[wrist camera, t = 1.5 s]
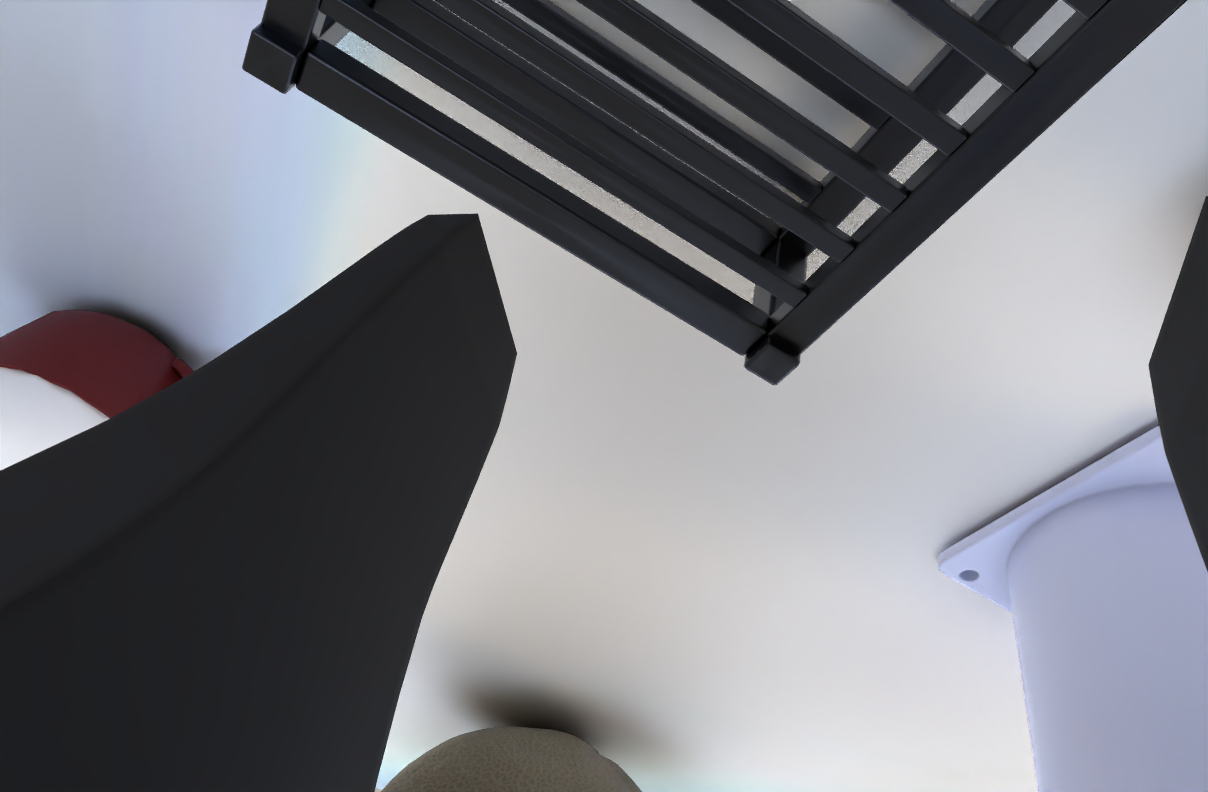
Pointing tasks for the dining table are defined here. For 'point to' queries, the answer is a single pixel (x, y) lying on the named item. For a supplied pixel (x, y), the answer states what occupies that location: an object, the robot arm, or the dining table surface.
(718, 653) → the dining table surface
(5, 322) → the dining table surface
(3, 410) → the cocoa
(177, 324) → the dining table surface
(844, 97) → the shoe rack
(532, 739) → the cantaloupe
